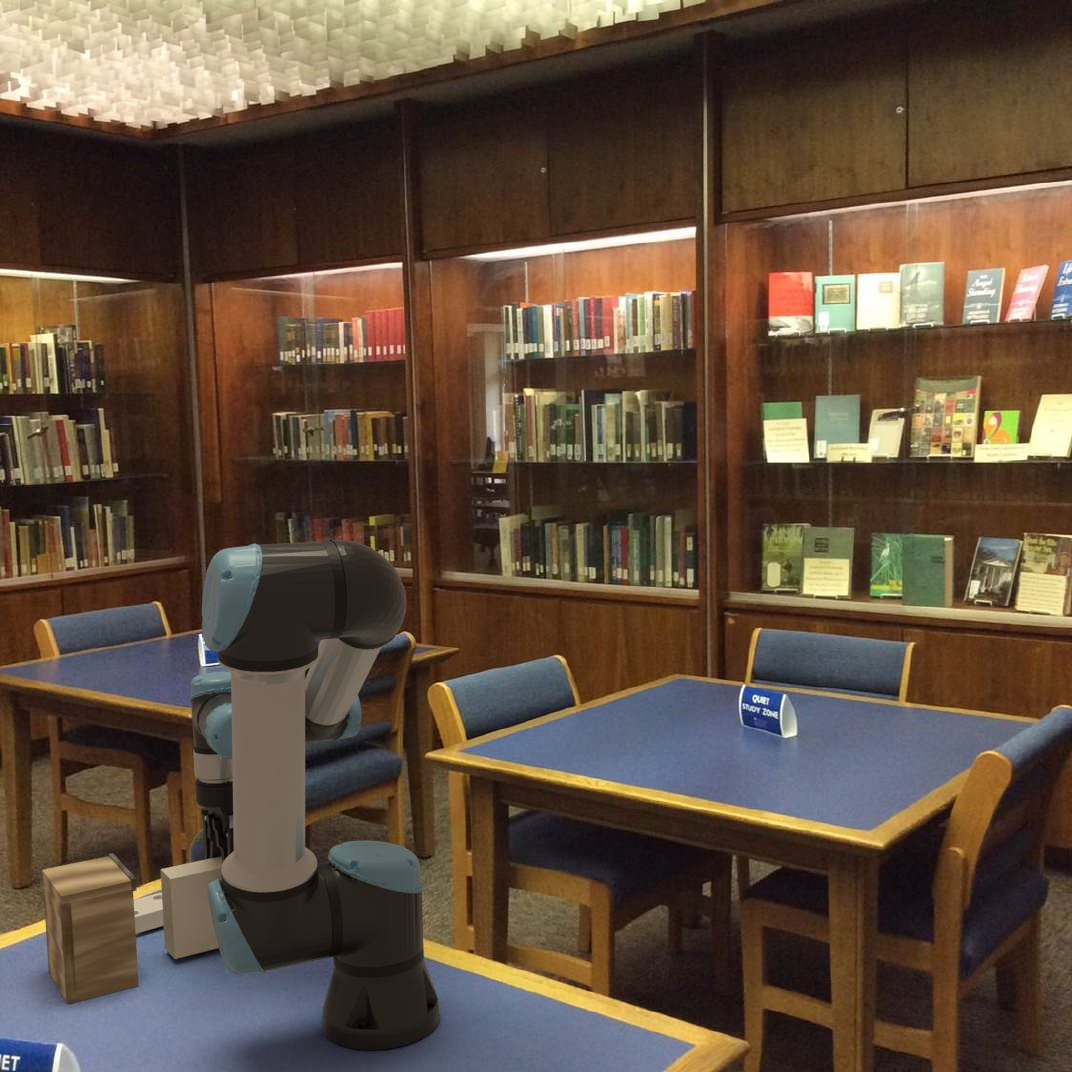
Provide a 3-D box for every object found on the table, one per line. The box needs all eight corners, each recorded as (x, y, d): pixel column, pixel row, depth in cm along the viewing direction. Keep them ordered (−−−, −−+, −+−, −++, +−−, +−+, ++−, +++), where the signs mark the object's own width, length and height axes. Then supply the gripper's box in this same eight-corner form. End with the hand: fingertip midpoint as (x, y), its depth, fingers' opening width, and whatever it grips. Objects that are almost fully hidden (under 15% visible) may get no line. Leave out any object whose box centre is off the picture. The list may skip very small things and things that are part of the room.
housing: (142, 985, 174) (135, 878, 172) (68, 1004, 168) (61, 894, 167) (118, 954, 184) (112, 853, 183) (48, 971, 179) (41, 867, 177)
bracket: (107, 948, 187) (104, 899, 186) (89, 934, 192) (86, 887, 192) (187, 924, 195) (185, 877, 195) (169, 911, 201) (166, 866, 200)
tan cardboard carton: (241, 942, 185) (237, 864, 184) (174, 959, 180) (170, 879, 179) (230, 931, 189) (226, 854, 188) (164, 947, 184) (160, 869, 183)
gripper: (266, 785, 179) (274, 940, 181) (225, 759, 194) (232, 902, 196) (216, 795, 175) (224, 953, 177) (177, 767, 190) (185, 913, 192)
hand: (228, 926), depth 187 cm, fingers closed on tan cardboard carton, 5 cm apart
